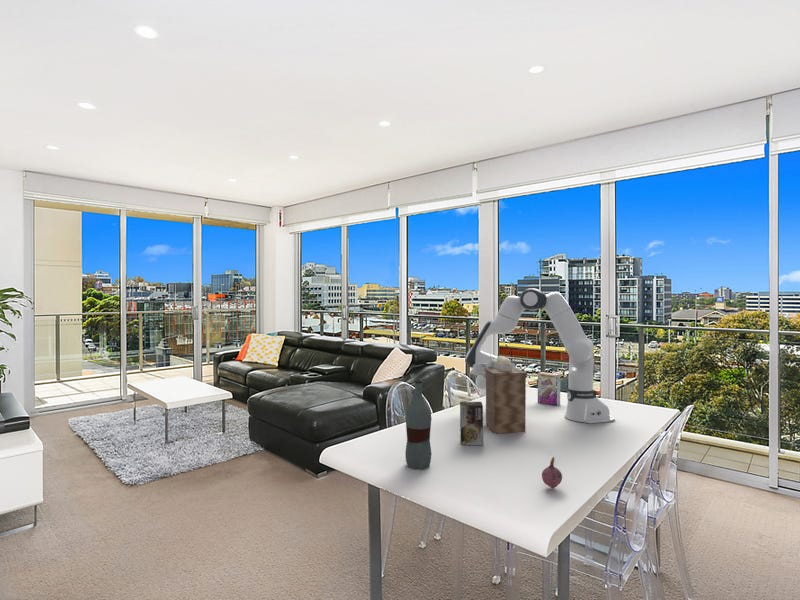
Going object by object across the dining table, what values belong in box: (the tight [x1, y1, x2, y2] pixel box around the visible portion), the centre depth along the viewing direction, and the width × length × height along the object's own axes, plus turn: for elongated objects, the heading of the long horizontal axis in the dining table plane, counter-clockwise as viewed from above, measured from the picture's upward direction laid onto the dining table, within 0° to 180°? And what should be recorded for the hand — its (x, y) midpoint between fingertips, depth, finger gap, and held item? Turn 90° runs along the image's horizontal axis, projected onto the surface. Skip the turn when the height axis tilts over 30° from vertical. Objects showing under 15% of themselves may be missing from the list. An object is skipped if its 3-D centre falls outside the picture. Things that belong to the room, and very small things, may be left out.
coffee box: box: [459, 401, 484, 446], centre depth 189 cm, size 9×6×16 cm
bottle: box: [404, 379, 432, 470], centre depth 164 cm, size 9×9×30 cm
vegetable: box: [541, 456, 563, 489], centre depth 145 cm, size 6×6×10 cm
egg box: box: [491, 355, 512, 372], centre depth 213 cm, size 4×18×6 cm, turn 6°
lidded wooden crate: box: [485, 367, 528, 434], centre depth 208 cm, size 15×13×26 cm
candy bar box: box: [537, 371, 561, 406], centre depth 256 cm, size 11×5×16 cm, turn 49°
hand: (498, 362), depth 218 cm, fingers closed on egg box, 4 cm apart
